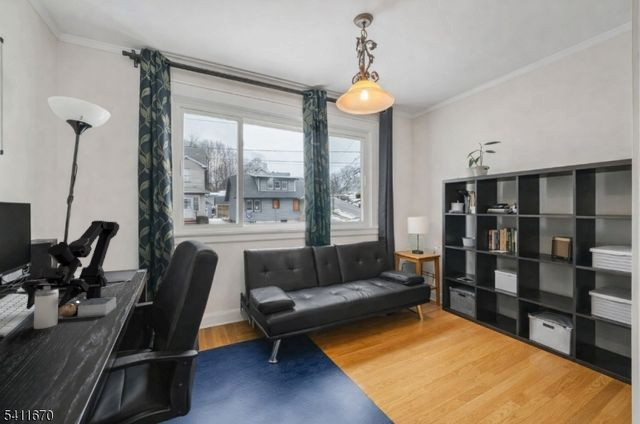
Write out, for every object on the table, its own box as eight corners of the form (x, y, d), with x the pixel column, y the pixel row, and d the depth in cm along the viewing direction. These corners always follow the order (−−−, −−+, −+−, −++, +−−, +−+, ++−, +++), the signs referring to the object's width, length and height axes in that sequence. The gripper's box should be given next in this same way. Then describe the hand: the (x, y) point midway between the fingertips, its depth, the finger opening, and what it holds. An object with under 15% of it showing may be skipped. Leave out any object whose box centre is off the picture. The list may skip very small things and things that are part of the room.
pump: (41, 322, 99) (42, 284, 99) (61, 321, 101) (62, 283, 101) (29, 329, 93) (30, 289, 93) (50, 327, 95) (52, 288, 95)
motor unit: (71, 310, 111) (72, 296, 111) (116, 307, 116) (116, 294, 116) (56, 319, 102) (57, 304, 102) (105, 315, 107) (106, 301, 107)
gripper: (25, 258, 99) (-4, 298, 88) (85, 258, 103) (64, 295, 92) (41, 275, 106) (16, 313, 96) (96, 274, 111) (78, 310, 100)
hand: (43, 308), depth 96 cm, fingers open, 9 cm apart
